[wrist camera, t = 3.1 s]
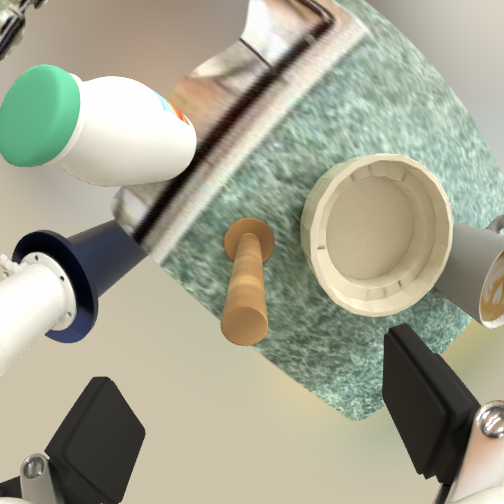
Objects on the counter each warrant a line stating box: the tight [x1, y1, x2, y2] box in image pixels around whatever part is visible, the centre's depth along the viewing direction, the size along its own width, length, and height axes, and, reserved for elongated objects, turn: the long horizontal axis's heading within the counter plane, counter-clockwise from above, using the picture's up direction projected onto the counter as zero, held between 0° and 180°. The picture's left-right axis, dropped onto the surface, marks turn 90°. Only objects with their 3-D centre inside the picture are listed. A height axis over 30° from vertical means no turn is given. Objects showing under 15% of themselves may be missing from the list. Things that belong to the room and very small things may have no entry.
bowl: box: [300, 154, 453, 317], centre depth 26 cm, size 15×15×6 cm
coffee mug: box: [434, 215, 504, 329], centre depth 25 cm, size 13×10×10 cm
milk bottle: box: [0, 65, 196, 187], centre depth 17 cm, size 8×8×20 cm
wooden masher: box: [221, 217, 274, 346], centre depth 21 cm, size 5×5×17 cm
